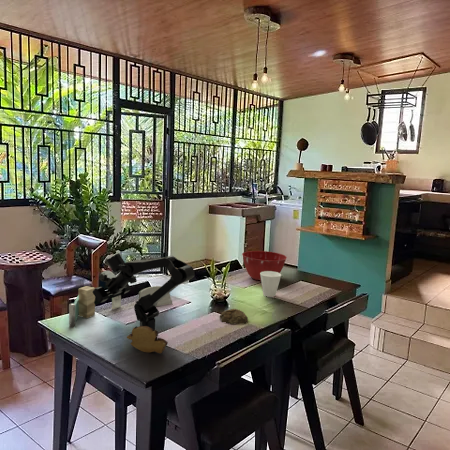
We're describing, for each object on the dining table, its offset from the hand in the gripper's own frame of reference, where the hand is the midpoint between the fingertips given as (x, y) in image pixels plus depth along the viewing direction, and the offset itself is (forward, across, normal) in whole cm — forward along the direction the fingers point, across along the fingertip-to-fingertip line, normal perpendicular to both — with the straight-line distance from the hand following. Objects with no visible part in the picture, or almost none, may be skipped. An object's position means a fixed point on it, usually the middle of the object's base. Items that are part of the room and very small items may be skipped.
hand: (102, 300), depth 183 cm
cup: (-29, -77, +43) cm, 93 cm away
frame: (+10, -1, +3) cm, 10 cm away
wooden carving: (-19, +14, +32) cm, 40 cm away
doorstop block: (+13, 0, 0) cm, 13 cm away
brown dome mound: (-28, -33, +42) cm, 60 cm away
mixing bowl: (-18, -107, +32) cm, 113 cm away
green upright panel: (+14, +3, -3) cm, 15 cm away
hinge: (+2, -30, +11) cm, 32 cm away
